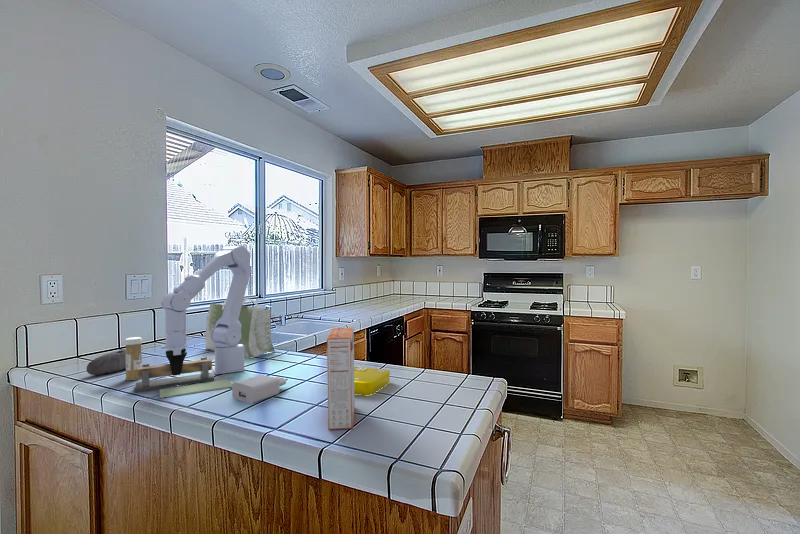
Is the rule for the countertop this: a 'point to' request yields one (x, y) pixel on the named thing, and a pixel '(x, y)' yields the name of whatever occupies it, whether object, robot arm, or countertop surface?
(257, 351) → the grocery bag
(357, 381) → the element tile
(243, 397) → the charger
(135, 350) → the sprinkles bottle
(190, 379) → the rail rack
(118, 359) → the perforated stone tool
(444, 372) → the countertop surface
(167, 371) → the rail
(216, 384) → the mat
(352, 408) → the cracker box
